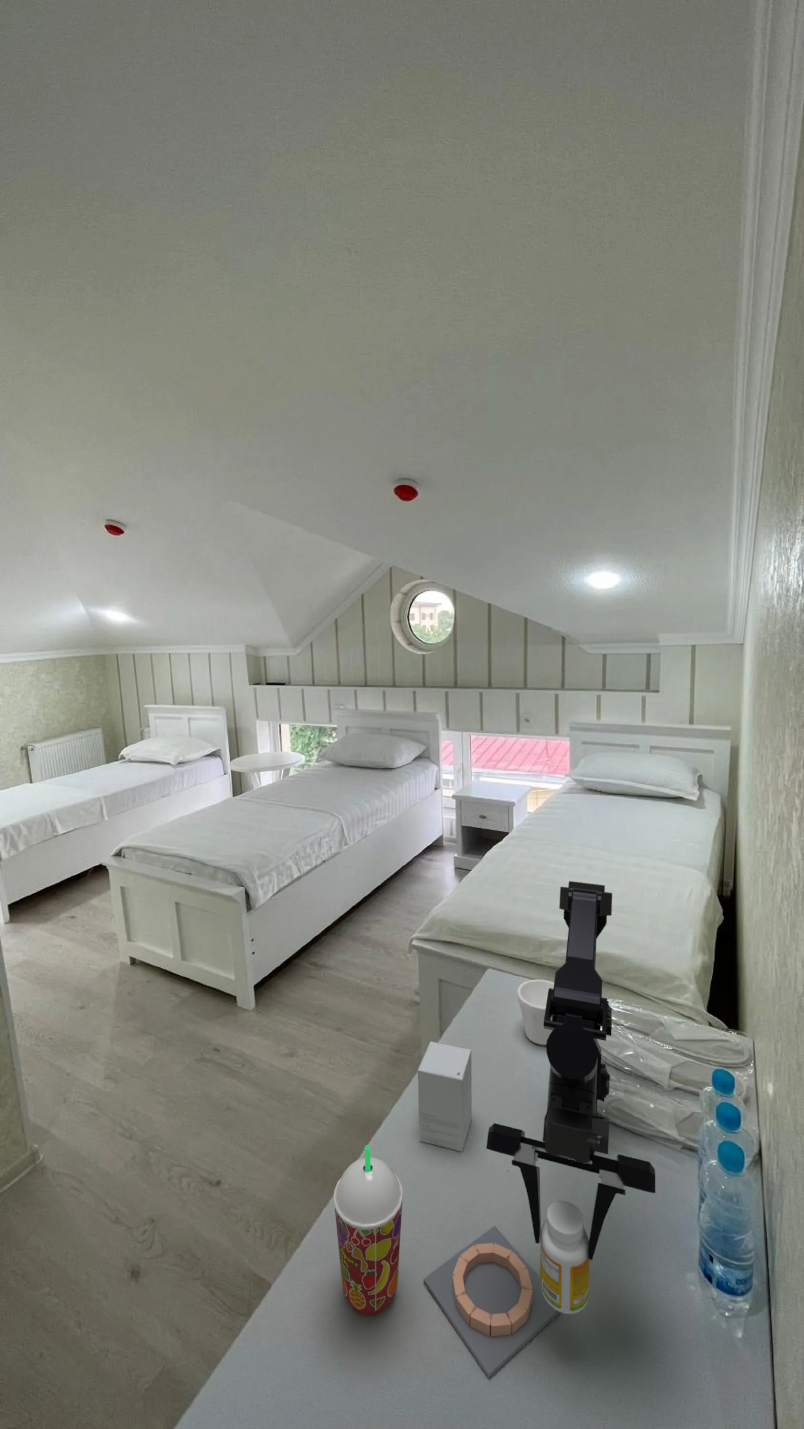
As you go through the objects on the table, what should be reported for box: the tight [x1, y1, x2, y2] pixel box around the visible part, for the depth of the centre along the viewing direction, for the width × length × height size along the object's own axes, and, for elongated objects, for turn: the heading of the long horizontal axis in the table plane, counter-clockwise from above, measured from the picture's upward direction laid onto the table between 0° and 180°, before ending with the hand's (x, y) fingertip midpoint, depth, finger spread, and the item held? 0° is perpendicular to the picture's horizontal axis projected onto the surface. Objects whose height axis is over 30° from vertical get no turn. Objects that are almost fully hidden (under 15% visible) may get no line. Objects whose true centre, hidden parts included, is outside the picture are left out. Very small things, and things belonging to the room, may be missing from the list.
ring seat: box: [423, 1225, 561, 1379], centre depth 75 cm, size 12×12×2 cm
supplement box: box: [417, 1041, 473, 1152], centre depth 99 cm, size 7×7×13 cm
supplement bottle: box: [539, 1200, 591, 1315], centre depth 69 cm, size 5×5×10 cm
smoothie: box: [333, 1144, 404, 1317], centre depth 74 cm, size 8×8×20 cm
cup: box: [516, 979, 554, 1047], centre depth 122 cm, size 10×10×9 cm
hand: (563, 1251), depth 68 cm, fingers closed on supplement bottle, 5 cm apart
